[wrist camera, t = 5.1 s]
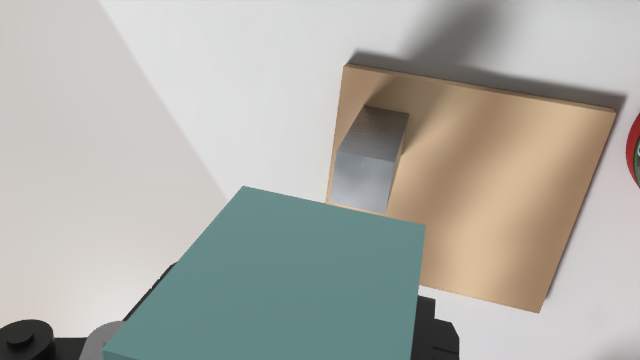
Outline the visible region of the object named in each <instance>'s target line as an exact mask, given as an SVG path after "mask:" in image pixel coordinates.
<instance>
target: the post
mask: <svg viewBox="0 0 640 360" xmlns="http://www.w3.org/2000/svg"><path fill="white" fill-rule="evenodd" d="M408 119H409V113H404V112H398V111H393V110H388V109H382V108H377V107H371V106H366V105H363V107H362V108H361V110H360V112H359V114H358V115H357V117H356V119H355V120H354V122H353V124H352V125H351V127H350V129H349V131H348V132H347V134H346V136H345V137H344V139H343V141H342V143H341V144H340V146H339V148H338V149H337V151H336V159H335V166H334V173H333V181H332V188H331V196H330V202H331V203H335V204H340V205H345V206H349V207H354V208H358V209H363V210H367V211H372V212H377V213H381V214H385V213H386V209H387V205H388V202H389V198H390V195H391V191H392V187H393V184H394V180H395V177H396V173H397V170H398V166H399V162H400V159H401V155H402V150H403V145H404V140H405V135H406V129H407V124H408Z"/></svg>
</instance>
